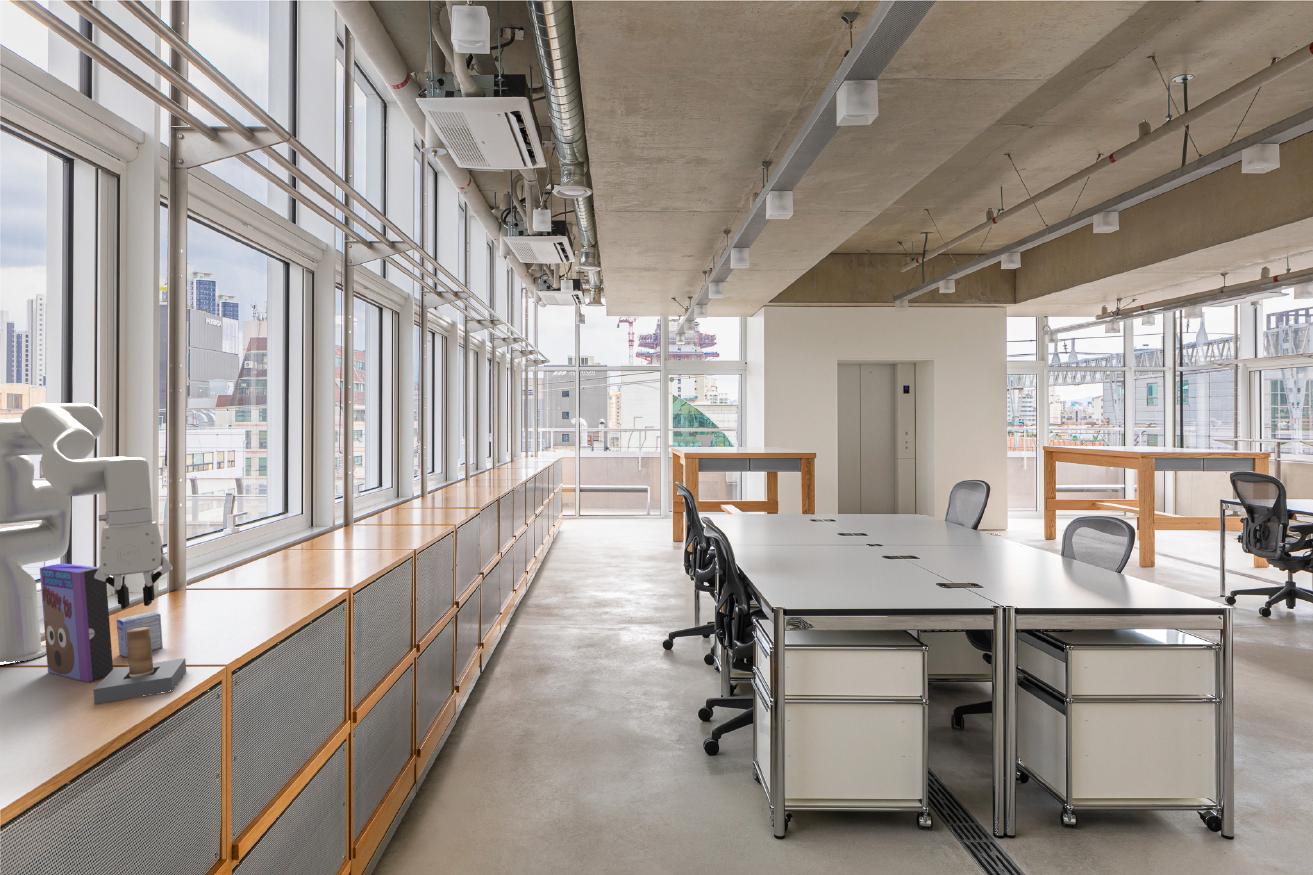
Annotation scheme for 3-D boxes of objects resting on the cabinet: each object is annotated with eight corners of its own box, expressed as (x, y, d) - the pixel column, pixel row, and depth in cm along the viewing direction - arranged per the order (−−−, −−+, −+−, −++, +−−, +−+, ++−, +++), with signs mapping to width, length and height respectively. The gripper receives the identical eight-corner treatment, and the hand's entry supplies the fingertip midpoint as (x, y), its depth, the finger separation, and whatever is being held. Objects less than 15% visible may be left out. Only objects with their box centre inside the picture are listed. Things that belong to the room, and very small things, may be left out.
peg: (133, 685, 152) (129, 629, 152) (156, 682, 154) (152, 626, 153) (128, 692, 149) (123, 634, 148) (151, 688, 150) (147, 631, 150)
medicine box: (156, 645, 181) (153, 610, 181) (163, 648, 178) (160, 613, 178) (118, 654, 175) (115, 619, 174) (125, 657, 172) (122, 621, 172)
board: (114, 682, 155) (113, 668, 155) (186, 671, 160) (185, 658, 160) (94, 704, 143) (93, 689, 143) (172, 691, 148) (171, 677, 148)
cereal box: (48, 672, 164) (39, 567, 163) (73, 665, 168) (64, 562, 167) (88, 683, 155) (79, 571, 154) (113, 675, 160) (105, 566, 159)
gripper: (74, 524, 143) (81, 616, 144) (172, 515, 150) (179, 604, 150) (87, 519, 150) (94, 607, 151) (181, 511, 157) (187, 596, 157)
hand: (136, 605), depth 151 cm, fingers open, 3 cm apart
